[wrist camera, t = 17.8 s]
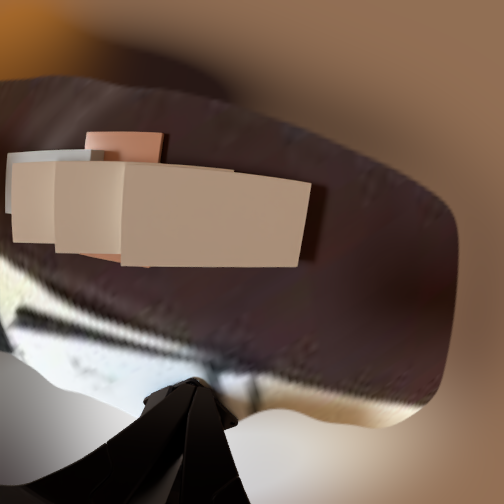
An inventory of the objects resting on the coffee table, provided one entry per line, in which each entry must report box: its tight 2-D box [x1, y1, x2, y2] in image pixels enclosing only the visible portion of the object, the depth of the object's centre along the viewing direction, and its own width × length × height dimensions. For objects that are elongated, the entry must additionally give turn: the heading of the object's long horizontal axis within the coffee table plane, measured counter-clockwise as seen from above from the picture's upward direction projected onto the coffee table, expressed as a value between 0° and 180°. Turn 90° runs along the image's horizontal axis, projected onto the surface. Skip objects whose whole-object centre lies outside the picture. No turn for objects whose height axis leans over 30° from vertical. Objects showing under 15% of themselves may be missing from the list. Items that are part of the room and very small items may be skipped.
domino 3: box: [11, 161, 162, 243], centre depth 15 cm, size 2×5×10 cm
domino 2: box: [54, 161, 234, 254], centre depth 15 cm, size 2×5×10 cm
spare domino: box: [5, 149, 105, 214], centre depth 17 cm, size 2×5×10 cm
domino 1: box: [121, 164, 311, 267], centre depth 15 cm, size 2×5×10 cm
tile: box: [80, 132, 164, 268], centre depth 18 cm, size 9×6×1 cm, turn 172°
